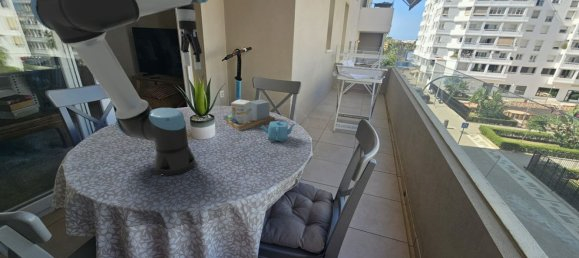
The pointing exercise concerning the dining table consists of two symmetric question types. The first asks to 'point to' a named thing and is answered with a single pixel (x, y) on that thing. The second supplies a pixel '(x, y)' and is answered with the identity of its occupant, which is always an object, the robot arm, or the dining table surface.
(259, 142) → the dining table surface
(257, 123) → the pallet
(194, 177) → the dining table surface
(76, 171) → the dining table surface
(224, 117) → the console
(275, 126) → the teapot
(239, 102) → the white labeled carton
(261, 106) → the block
